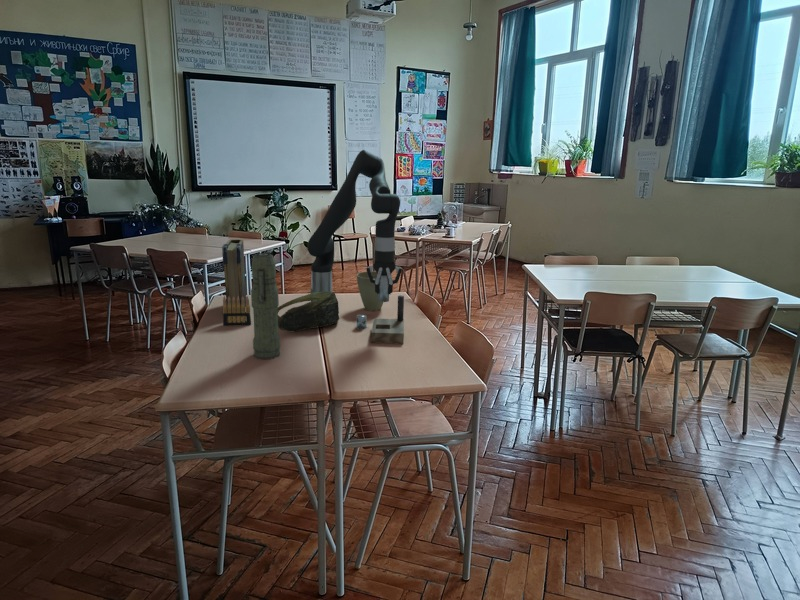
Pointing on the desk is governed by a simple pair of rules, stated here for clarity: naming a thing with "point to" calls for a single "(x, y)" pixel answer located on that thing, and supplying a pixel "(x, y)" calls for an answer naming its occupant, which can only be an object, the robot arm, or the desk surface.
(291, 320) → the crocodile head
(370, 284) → the plant pot
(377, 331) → the hole board
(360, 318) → the short pin
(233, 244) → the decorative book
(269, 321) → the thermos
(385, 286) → the tall pin
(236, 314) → the ammunition clip
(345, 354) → the desk surface
